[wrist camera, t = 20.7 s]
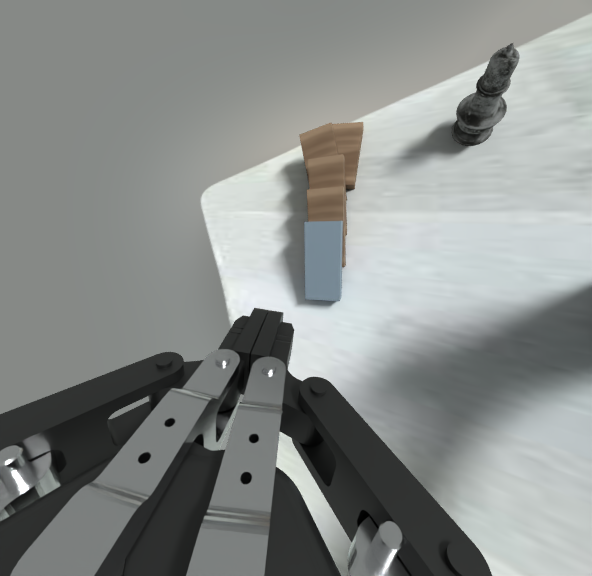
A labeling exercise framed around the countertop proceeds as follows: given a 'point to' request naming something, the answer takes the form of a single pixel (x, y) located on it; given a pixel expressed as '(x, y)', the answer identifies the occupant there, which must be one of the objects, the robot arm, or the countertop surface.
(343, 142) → the domino
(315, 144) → the domino
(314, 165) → the domino
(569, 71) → the countertop surface
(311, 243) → the blue domino
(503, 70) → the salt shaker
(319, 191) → the domino
